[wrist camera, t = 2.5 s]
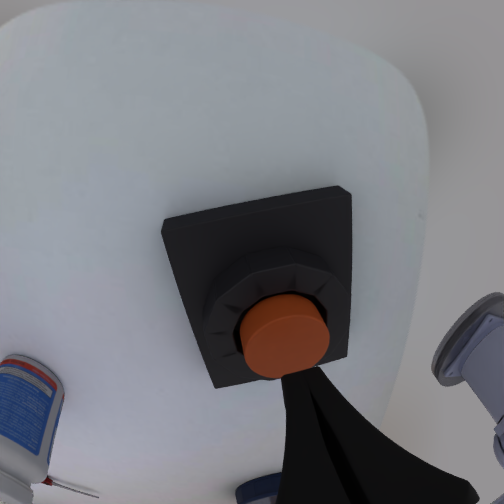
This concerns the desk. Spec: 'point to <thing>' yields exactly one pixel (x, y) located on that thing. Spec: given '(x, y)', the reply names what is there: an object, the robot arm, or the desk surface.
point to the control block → (262, 269)
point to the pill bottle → (26, 425)
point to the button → (283, 335)
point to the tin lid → (262, 499)
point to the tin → (258, 487)
